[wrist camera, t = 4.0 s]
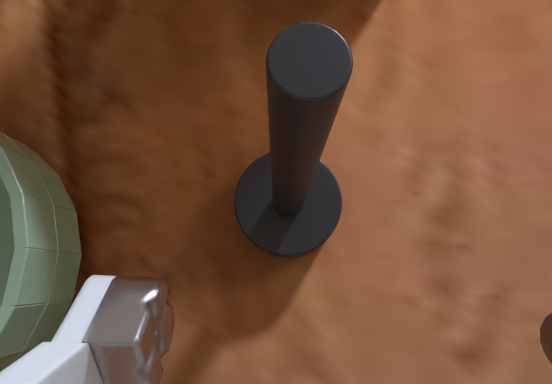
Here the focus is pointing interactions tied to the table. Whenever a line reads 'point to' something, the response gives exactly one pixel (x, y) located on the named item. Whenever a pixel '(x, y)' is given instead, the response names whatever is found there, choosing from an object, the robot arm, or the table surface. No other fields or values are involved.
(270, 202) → the dark post stand
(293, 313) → the table surface
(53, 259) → the bowl
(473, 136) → the table surface
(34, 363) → the robot arm
